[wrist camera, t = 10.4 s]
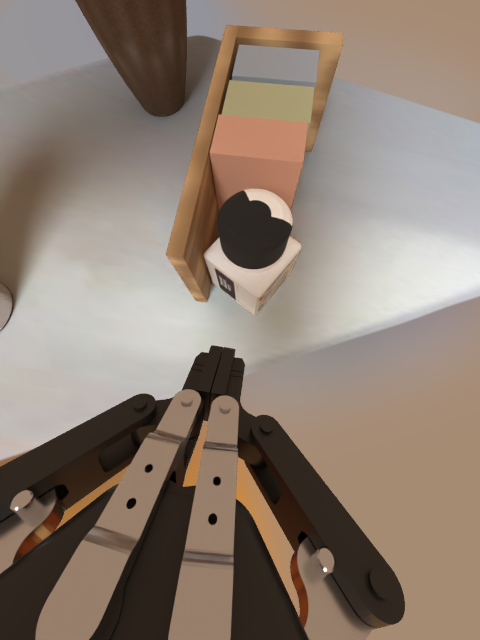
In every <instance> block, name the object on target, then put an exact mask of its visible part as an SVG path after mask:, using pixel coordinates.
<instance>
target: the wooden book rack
mask: <svg viewBox="0 0 480 640" xmlns="http://www.w3.org/2000/svg"><path fill="white" fill-rule="evenodd" d="M343 38H344V34H343V33H333V32H319V31H305V30H290V29H276V28H261V27H246V26H233V25H226V27H225V31H224V35H223V39H222V42H221V46H220V50H219V54H218V58H217V61H216V65H215V69H214V73H213V77H212V80H211V84H210V88H209V92H208V96H207V99H206V103H205V107H204V111H203V115H202V119H201V122H200V126H199V130H198V134H197V138H196V141H195V145H194V149H193V153H192V157H191V160H190V164H189V168H188V172H187V176H186V179H185V183H184V187H183V191H182V195H181V198H180V202H179V206H178V210H177V214H176V217H175V221H174V225H173V229H172V233H171V236H170V240H169V244H168V248H167V252H166V256H167V257H168V259H169V260H170V262H171V263H172V265H173V266H174V268H175V269H176V271H177V272H178V274H179V276H180V277H181V279H182V280H183V282H184V283H185V285H186V286H187V288H188V289H189V291H190V292H191V294H192V295H193V297H194V299H195V300H196V301H201V302H207V299H208V294H209V289H210V284H211V276H210V273H209V270H208V267H207V264H206V261H205V259H204V253H205V251H206V250H207V249H208V248H209V247H210V246H211V245H212V244H213V243H214V242H215V241H216V240H217V239H218V238H219V233H218V227H217V216H218V213H219V209H218V203H217V197H216V191H215V184H214V178H213V172H212V165H211V159H210V149H211V145H212V140H213V136H214V132H215V128H216V124H217V120H218V115H221V114H222V110H223V106H224V101H225V97H226V93H227V89H228V84H229V80H232V73H233V69H234V65H235V60H236V56H237V52H238V47H239V45H252V46H266V47H279V48H293V49H306V50H320V52H319V61H318V71H317V81H316V86H315V90H314V96H313V105H312V115H311V124H310V127H309V131H308V135H307V139H306V144H305V151H312V148H313V145H314V141H315V138H316V134H317V131H318V128H319V124H320V121H321V118H322V114H323V111H324V108H325V104H326V101H327V97H328V94H329V91H330V87H331V84H332V81H333V77H334V74H335V70H336V67H337V64H338V60H339V57H340V54H341V50H342V47H343Z"/></svg>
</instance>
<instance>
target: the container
mask: <svg viewBox="0 0 480 640" xmlns="http://www.w3.org/2000/svg"><path fill="white" fill-rule="evenodd" d="M292 224H293V220H292V214H291V211H290V209H289V207H288V205H287V204H286V203H285V202H284V201H283V200H282V199H281V198H280V197H279V196H277V195H276V194H274V193H272V192H270V191H267V190H264V189H246V190H243V191H240V192H238V193H236V194H234V195H233V196H231V197H230V198H228V199H227V200H226V201H225V202H224V204H223V205H222V207H221V208H220V210H219V213H218V216H217V227H218V233H219V238H218V239H217V240H216V241H215V242H214V243H213V244H212V245H211V246H210V247H209V248H208V249H207V250H206V251H205V253H204V259H205V261H206V264H207V267H208V270H209V273H210V276H211V279H212V282H213V284H215V285H216V286H217V287H218V288H220V289H221V290H222V291H224V292H225V293H226V294H227V295H229V296H230V297H231V298H232V299H234V300H235V301H236V302H238V303H239V304H240V305H241V306H243V307H244V308H245V309H246V310H248V311H249V312H250V313H252V314H253V315H257V314H258V313H259V311H260V310H261V309H262V308H263V307H264V305H265V304H266V303H267V302H268V301H269V299H270V298H271V297H272V296H273V295H274V293H275V292H276V291H277V290H278V289H279V287H280V286H281V285H282V284H283V283H284V282H285V280H286V279H287V278H288V277H289V275H290V272H291V270H292V268H293V266H294V263H295V261H296V259H297V257H298V254H299V252H300V250H301V248H302V245H301V244H300V243H299V242H298V241H296V240H295V239H293V238H292V237H290V233H291V230H292Z"/></svg>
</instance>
